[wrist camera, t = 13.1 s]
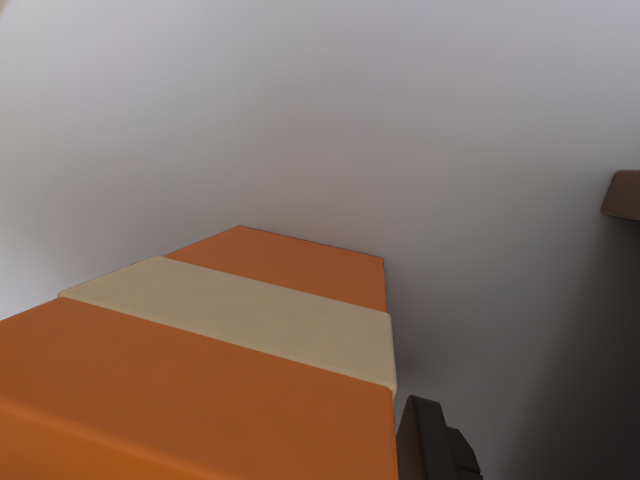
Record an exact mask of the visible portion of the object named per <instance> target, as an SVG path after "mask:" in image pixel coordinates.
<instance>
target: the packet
mask: <svg viewBox="0 0 640 480" xmlns="http://www.w3.org/2000/svg"><path fill="white" fill-rule="evenodd" d="M396 392H397V379H396V368H395V357H394V346H393V335H392V325H391V316H390V314H388V313H387V303H386V289H385V274H384V261H383V259H382V258H380V257H376V256H371V255H367V254H362V253H358V252H353V251H349V250H345V249H340V248H336V247H331V246H327V245H323V244H318V243H314V242H309V241H305V240H300V239H296V238H292V237H287V236H283V235H278V234H274V233H269V232H265V231H261V230H256V229H252V228H247V227H243V226H237V227H235V228H232V229H230V230H227V231H225V232H222V233H220V234H217V235H215V236H212V237H210V238H207V239H205V240H202V241H200V242H197V243H195V244H192V245H190V246H187V247H185V248H182V249H179V250H177V251H174V252H172V253H169V254H167V255H164V256H162V257H160V256H153V257H150V258H148V259H145V260H142V261H140V262H137V263H134V264H132V265H129V266H127V267H124V268H121V269H119V270H116V271H113V272H111V273H108V274H106V275H103V276H100V277H98V278H95V279H93V280H90V281H87V282H85V283H82V284H79V285H77V286H74V287H72V288H69V289H66V290H64V291H61V292H60V293H59V294H58V297H57V298H56V299H54V300H51V301H49V302H46V303H44V304H41V305H39V306H36V307H34V308H31V309H29V310H26V311H24V312H21V313H19V314H16V315H14V316H11V317H9V318H6V319H4V320H1V321H0V480H399V479H398V464H397V449H396V435H395V420H394V405H393V402H394V399H395V395H396Z"/></svg>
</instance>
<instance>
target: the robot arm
mask: <svg viewBox="0 0 640 480" xmlns="http://www.w3.org/2000/svg"><path fill="white" fill-rule="evenodd" d="M396 449H397V464H398V479H399V480H483V477H482V476H481V475H480V469H479V466H478V463H477V460H476V457H475V454H474V451H473V449H472V448H471V446H470V445H469V444H468V442H467V441H466V439H465V438H464V437H463V435H462V434H461V433H460V431H459V430H458V429H454V428H451V427H447V426H446V423H445V419H444V416H443V412H442V408H441V405H440V403H439V402H436V401H432V400H428V399H425V398H421V397H418V396H414V395H409V397H408V399H407V402H406V405H405V409H404V412H403V415H402V419H401V422H400V425H399V429H398V432H397V435H396Z"/></svg>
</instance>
